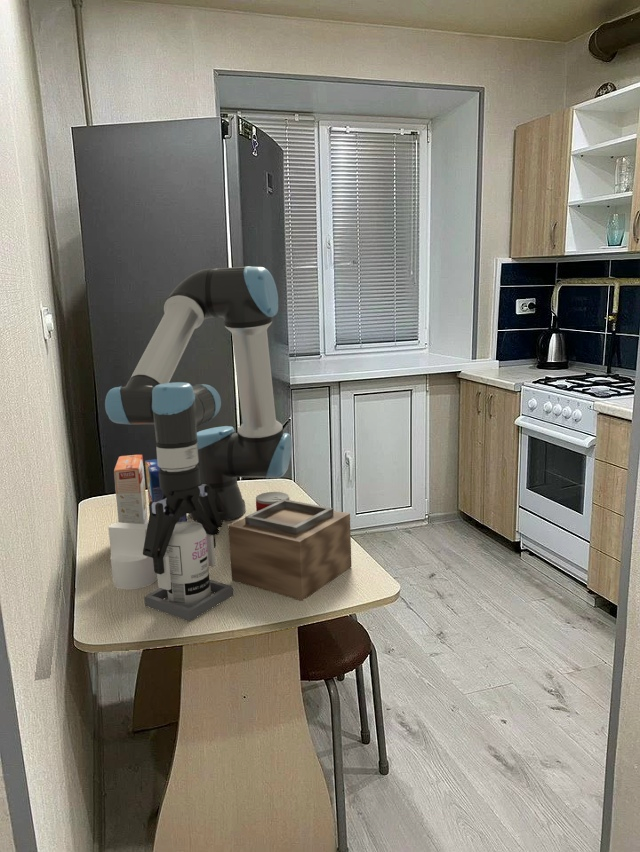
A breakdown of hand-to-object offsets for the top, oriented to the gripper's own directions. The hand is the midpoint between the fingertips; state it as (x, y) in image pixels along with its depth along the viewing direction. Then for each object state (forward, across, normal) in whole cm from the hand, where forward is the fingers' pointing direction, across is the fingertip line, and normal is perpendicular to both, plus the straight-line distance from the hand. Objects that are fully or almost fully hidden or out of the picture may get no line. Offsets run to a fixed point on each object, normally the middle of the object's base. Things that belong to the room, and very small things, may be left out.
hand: (187, 576), depth 126 cm
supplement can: (+5, 0, 0) cm, 5 cm away
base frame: (+5, 0, 0) cm, 5 cm away
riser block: (+5, +20, -10) cm, 23 cm away
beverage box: (+5, +13, +19) cm, 24 cm away
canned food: (+5, +33, +5) cm, 34 cm away
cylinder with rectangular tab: (+5, +1, +17) cm, 18 cm away
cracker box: (+5, +14, +32) cm, 35 cm away
